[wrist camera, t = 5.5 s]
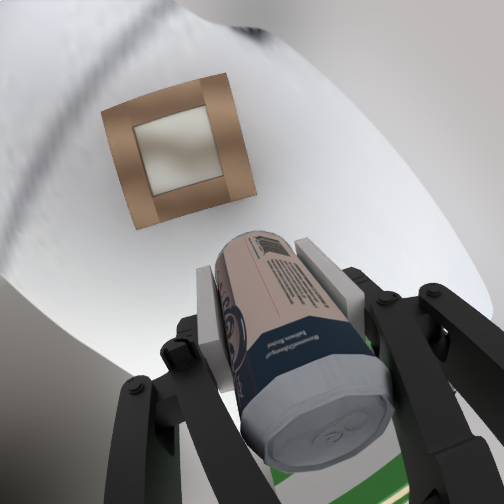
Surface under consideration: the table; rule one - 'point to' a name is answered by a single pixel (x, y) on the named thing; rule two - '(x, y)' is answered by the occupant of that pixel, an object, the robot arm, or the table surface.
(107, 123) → the picture frame
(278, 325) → the beer can
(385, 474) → the hardback book
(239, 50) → the table surface
